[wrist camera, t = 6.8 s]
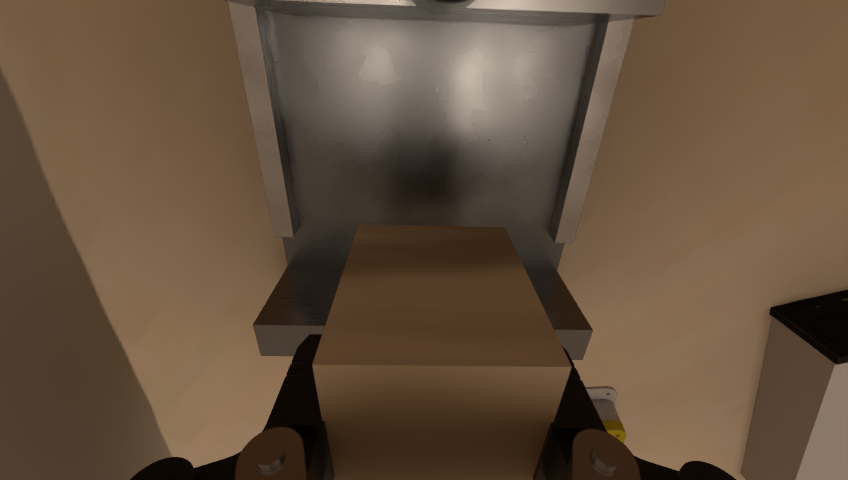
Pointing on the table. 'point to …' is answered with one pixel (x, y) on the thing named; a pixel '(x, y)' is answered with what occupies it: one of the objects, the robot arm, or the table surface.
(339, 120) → the press
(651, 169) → the table surface
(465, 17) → the jaw
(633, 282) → the table surface
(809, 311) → the disc drive
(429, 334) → the maple block
